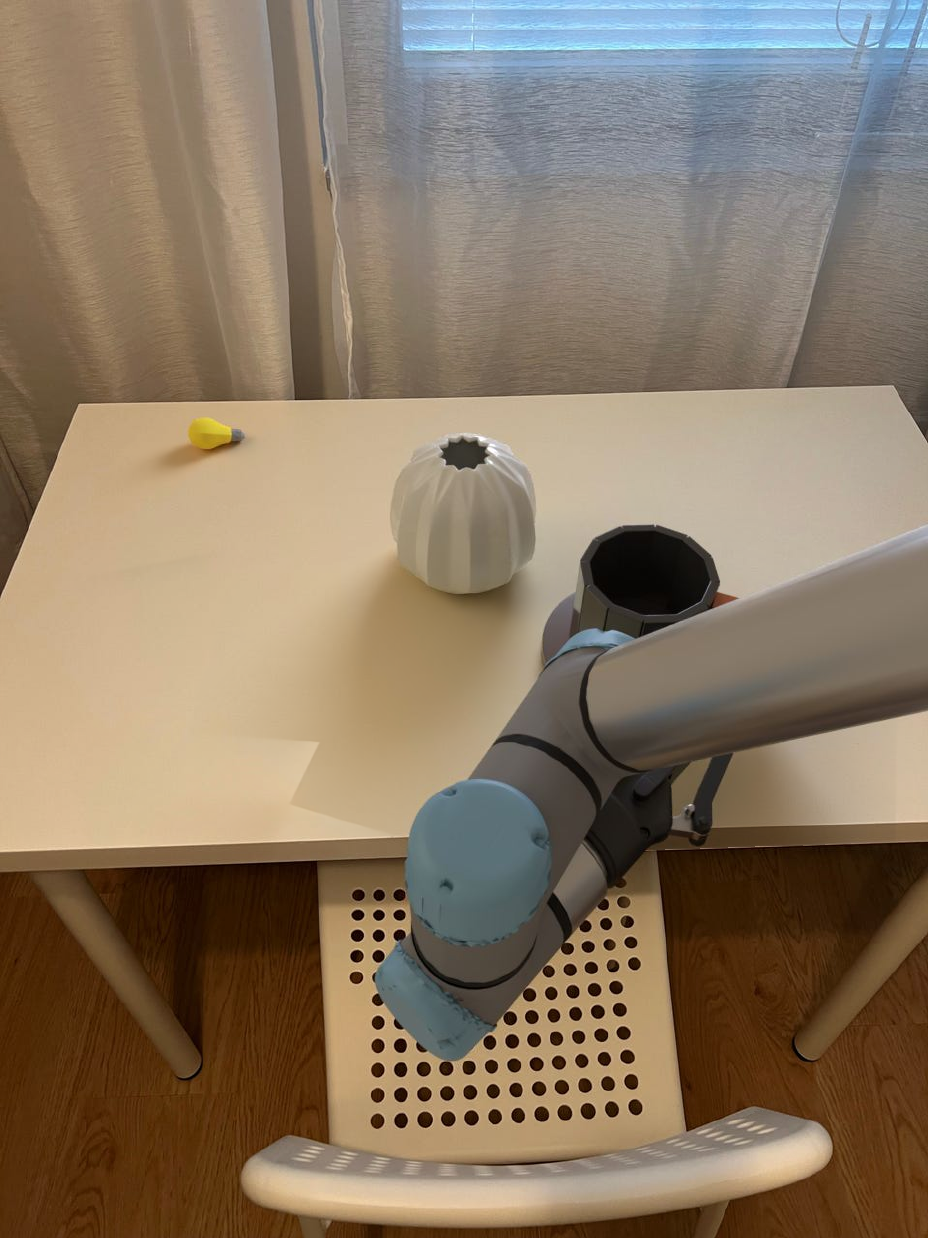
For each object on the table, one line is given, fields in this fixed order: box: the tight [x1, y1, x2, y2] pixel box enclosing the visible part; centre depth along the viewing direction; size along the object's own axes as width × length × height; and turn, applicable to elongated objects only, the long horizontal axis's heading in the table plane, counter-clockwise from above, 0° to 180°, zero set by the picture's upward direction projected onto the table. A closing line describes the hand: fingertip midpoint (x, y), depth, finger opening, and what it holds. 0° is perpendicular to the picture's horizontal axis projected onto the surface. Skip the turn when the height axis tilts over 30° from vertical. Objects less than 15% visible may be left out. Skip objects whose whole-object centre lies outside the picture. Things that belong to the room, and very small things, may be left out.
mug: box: [569, 523, 740, 639], centre depth 79 cm, size 12×15×10 cm
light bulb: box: [187, 416, 246, 450], centre depth 103 cm, size 3×6×4 cm, turn 106°
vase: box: [389, 432, 537, 595], centre depth 87 cm, size 14×14×13 cm
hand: (750, 655), depth 76 cm, fingers closed
